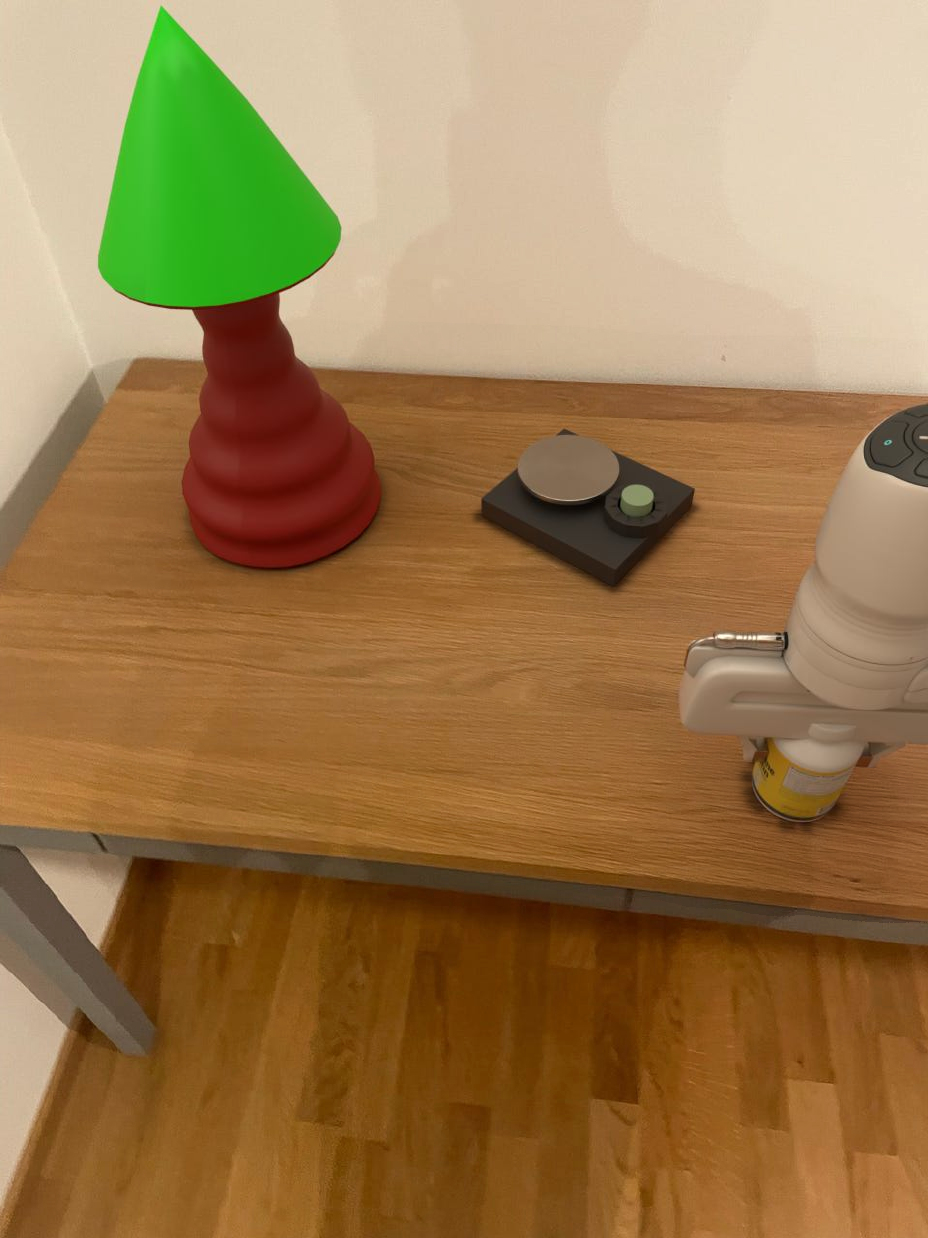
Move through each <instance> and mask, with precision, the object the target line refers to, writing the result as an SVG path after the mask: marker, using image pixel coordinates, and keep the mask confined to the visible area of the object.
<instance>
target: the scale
mask: <svg viewBox="0 0 928 1238" xmlns="http://www.w3.org/2000/svg"><path fill="white" fill-rule="evenodd" d="M558 435H577V436H581V435H580V434H577V433H576V432H573V431H571V430H569V429H567V428H562V430H560V431H559V432H558V433H557V434H556V435H555V436H558ZM610 450H611V451H612V452H613V453H614V455H615V456H616V458H617V460H618V463H619V477H618V480H617V483H616V484H615V486H614V487H613V489H612V490H611V491H610V492H609V493H607V494H606V495H605V496H603V497H601V498H599V499H597V500H595V501H592V502H589V503H584V504H578V505H561V504H554V503H550V502H547V501H544V500H541V499H539V498H537V497H535V496H534V495H532V494H531V493H529V492H528V491H527V490H526V489H525V488H524V487H523V485H522V484H521V482H520V480H519V477H518V467H516V469H514V470H513V471H512V472H511V473H510V474H508V475H507V476H506V477H505V478H504V479H503V480H501V481H500V482H499V483H497V485H495V486H494V487H492V489H490V490H489V491H488V492H487V493H486V494H485V495H483V496H482V497H481V498H480V502H481V517H483V518H485V519H487V520H489V521H490V522H492V523H494V524H496V525H497V526H500V527H501V528H503V529H505V530H507V531H508V532H510V533H512V534H514V535H516V536H518V537H520V538H522V539H524V540H525V541H527V542H529V543H531V544H533V545H535V546H537V547H538V548H541V549H543V550H544V551H546V552H548V553H550V554H551V555H553V556H555V557H557V558H559V559H560V560H563V561H564V562H566V563H568V564H570V565H572V566H573V567H576V568H577V569H580V570H581V571H583V572H585V573H587V574H589V575H590V576H591V577H595V579H598V580H600V581H602V582H603V583H605V584H607V585H609V586H611V587H615V586H617V584H619V582H620V581H621V580H622V579H623V578H624V577H625V576H626V575H627V574H628V573H629V572H630V571H631V570H632V568H634V567H635V565H636V564H638V562H639V561H641V559H642V558H643V557H645V555H646V554H647V553H648V552H649V551H650V550H651V549H652V548H653V547H654V546H655V545H656V544H657V543H658V542H659V541H660V540H661V539H662V538H663V536H665V535H666V534H667V532H669V530H671V529H672V527H673V526H674V525H675V524H676V523H677V522H678V521H679V520H680V519H681V518H683V516H684V515H685V514H686V513H687V512H688V511H689V510H690V509H691V508H692V506H693V501H694V498H695V497H694V496H695V493H696V492H695V491H696V488H694V487H693V486H690V485H688V484H686V483H684V482H682V481H679V480H677V479H676V478H673V477H671V476H668V475H666V474H665V473H662V472H660V471H657V470H655V469H653V468H651V467H649V466H646V465H645V464H643V463H641V462H638V461H636V460H634V459H632V458H629V457H627V456H626V455H623V454H621V453H618V452H616V451H614V450H612V449H610ZM630 485H643V486H646V487H648V488H649V489H650V490H651V491H652V492H653V495H654V498H653V505H652V510H651V512H650V513H649V514H648V515H646V516H644V517H631V516H628V515H626V514H625V513H624V512H623V511H622V510H621V507H620V504H621V495H622V491H623V490H624V489H625V488H626V487H628V486H630Z"/></svg>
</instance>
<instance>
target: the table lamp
mask: <svg viewBox="0 0 928 1238" xmlns="http://www.w3.org/2000/svg"><path fill="white" fill-rule="evenodd" d="M151 31H152V32H151V34H150V37H149V41H148V44H147V46H146V50H145V53H144V56H143V60H142V63H141V66H140V69H139V72H138V75H137V78H136V82H135V86H134V90H133V92H132V97H131V100H130V105H129V108H128V112H127V116H126V120H125V122H124V128H123V133H122V137H121V142H120V147H119V152H118V156H117V161H116V165H115V171H114V174H113V175H114V177H113V181H112V184H111V185H112V186H111V190H110V196H109V201H108V205H107V210H106V215H105V218H104V219H105V220H104V225H103V229H102V234H101V239H100V244H99V250H98V254H97V269H98V271H99V274H100V276H101V278H102V280H104V281H105V282H106V283H107V284H108V285H109V287H111V288H112V290H114V291H115V292H116V293H117V294H120V295H121V296H123V297H125V298H127V299H129V300H130V301H133V302H136V303H139V304H143V305H145V306H149V307H154V308H160V309H167V310H180V311H181V310H185V311H192V313H193V315H194V318H195V319H196V321H197V323H198V324H199V326H200V327H201V329H202V332H203V338H202V345H201V353H202V359H203V363H204V366H205V368H206V369H205V370H206V371H207V376H206V377H205V380H204V381H203V384H202V385H201V387H200V388H201V389H200V393H199V396H198V401H199V402H198V403H199V411H200V415H199V416H198V417H197V418H196V420H195V422H194V424H193V426H192V428H191V430H190V435H189V439H188V450H189V457H188V460H187V462H186V464H185V466H184V469H183V474H182V478H181V492H182V493H181V494H182V496H183V499H184V500H185V501H184V502H185V504H186V506H187V508H188V510H189V512H188V513H189V520H190V521H189V522H190V526H191V528H192V530H193V532H194V535H195V537H196V538H197V539H198V541H199V542H200V543H201V545H202V546H204V548H206V549H207V550H208V551H210V552H211V553H212V554H214V555H215V556H217V557H219V558H222V559H223V560H226V561H228V562H231V563H235V564H239V565H243V566H248V567H257V568H268V569H273V568H274V569H276V568H291V567H295V566H299V565H304V564H308V563H311V562H313V561H317V560H318V559H319V560H320V558H324V557H327V556H328V555H331V554H332V553H335V552H336V551H339V550H341V549H343V548H344V547H345V546H347V545H348V544H350V543H351V542H352V541H354V540H355V539H357V538H358V537H359V536H360V535H361V534H362V533H363V532H364V530H365V529H366V528H367V527H368V526H369V525H370V523H371V522H372V520H373V518H374V516H376V513H377V511H378V508H379V506H380V502H381V499H382V484H381V480H380V477H379V475H378V473H377V471H376V470H375V455H374V452H373V448H372V444H371V443H370V442H369V440H368V439H367V437H366V435H365V434H364V433H363V432H362V431H361V430H360V429H358V428H357V427H356V426H355V425H354V424H353V423H352V422H351V421H350V420H349V418H348V414H347V412H346V410H345V409H344V407H343V406H342V404H341V403H340V402H339V401H338V400H337V399H336V398H334V397H333V396H332V395H331V394H330V393H328V392H327V391H325V390H323V389H321V387H320V384H319V383H320V382H319V381H318V378H317V376H316V374H315V373H314V371H313V370H312V369H311V368H310V366H309V365H307V364H306V363H305V362H304V361H303V360H301V359H299V358H298V357H297V356H296V353H295V346H294V342H293V338H292V335H291V333H290V331H289V330H288V328H287V327H286V325H285V324H284V322H283V320H282V319H281V317H280V304H281V295H280V294H281V293H283V292H285V291H288V290H291V289H292V288H294V287H296V286H298V285H300V284H302V283H304V282H305V281H307V280H309V279H310V278H312V277H313V276H314V275H315V274H316V273H318V272H319V271H320V270H322V269H323V268H324V267H325V266H326V265H327V264H328V262H329V261H330V260H331V259H332V258H333V257H334V256H335V254H336V251H337V249H338V247H339V244H340V242H341V239H342V225H341V222H340V220H339V217H338V215H337V214H336V212H334V210H333V209H332V207H331V206H330V204H329V203H328V202H327V201H326V200H325V198H324V197H323V196H322V194H321V193H320V192H319V191H318V189H317V188H316V187H315V185H314V184H313V182H312V181H311V180H310V179H309V178H308V176H307V175H306V174H305V173H304V171H303V170H302V168H301V167H300V166H299V165H298V163H297V162H296V160H295V159H294V158H293V156H291V154H290V153H289V152H288V150H287V149H286V147H285V146H284V145H283V144H282V143H281V141H280V140H279V138H278V137H277V136H276V135H275V134H274V132H273V130H272V129H271V128H270V127H269V126H268V124H267V123H266V122H265V120H264V119H263V118H262V116H261V115H260V114H259V112H258V111H257V110H256V109H255V107H254V106H253V105H252V103H250V101H249V100H248V98H247V97H246V96H245V95H244V93H242V92H241V91H240V90H239V88H238V87H237V86H236V85H235V84H234V83H233V82H232V81H231V79H230V78H229V77H228V76H227V75H226V74H225V73H224V71H222V69H221V68H220V67H219V66H218V65H217V64H216V62H214V60H213V59H212V58H211V57H210V56H209V55H208V54H207V53H206V52H205V51H204V49H203V48H202V47H201V46H200V45H199V44H198V43H197V42H196V41H195V40H194V39H193V37H191V35H190V34H189V33H188V32H187V31H186V30H185V29H184V28H183V27H182V25H180V24H179V23H178V22H177V20H176V19H175V18H174V17H173V16H172V15H171V14H170V13H169V12H168V11H167V10H166V9H165V7H164V6H162V5H160V7H159V9H158V12H157V16H156V19H155V21H154V24H153V28H152V30H151Z"/></svg>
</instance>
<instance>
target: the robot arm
mask: <svg viewBox="0 0 928 1238" xmlns="http://www.w3.org/2000/svg"><path fill="white" fill-rule="evenodd" d="M838 478H839V479H838V480H837V482H836V485H835V486H834V489H833V491H832V494H831V496H830V499H829V501H828V504H827V505H826V508H825V511H824V513H823V516H822V518H821V521H820V524H819V526H818V529H817V532H816V536H815V541H814V548H813V549H814V562H813V563H812V564H811V565H810V566H809V567H808V568H807V570H806V571H805V573H804V574H803V576H802V578H801V580H800V583H799V585H798V588H797V590H796V594H795V597H794V601H793V603H792V606H791V609H790V611H789V615H788V618H787V619H786V623H785V626H784V628H783V629H784V630H783V632H780V631H779V632H778V631H751V632H750V631H749V632H737V631H735V630H727V629H725V630H716V631H714V632H713V633H712V635H708V636H704V637H701V638H698V639H694V640H692V641H690V642H689V644H688V645H687V649H686V650H685V655H684V661H683V667H684V672H683V674H682V677H681V679H680V682H679V686H678V710H679V711H678V712H679V719H680V722H681V725H682V726H683V727H684V729H686V730H687V731H688V732H690V733H691V734H695V735H712V736H714V735H715V736H737V740H738V741H739V743H740V744H741V750H742V758H743V761H744V762H745V763H746V762H748V763H755V762H765V761H766V758H765V757H767V755H768V753H769V749H768V745H767V743H766V740H767V737H775V738H795V739H810V738H812V737H811V736H809V735H808V734H809V733H808V731H809V728H810V726H811V724H812V723H817V724H840V725H857V728H856V730H855V733H854V735H853V736H852V737H850V738H848V739H846V740H844V741H858V742H865V745H864V749H863V752H862V754H861V756H860V758H859V760H858V762H857V763H856V765H855V767H854V768H867V769H875V768H876V766H877V764H878V763H879V761H880V759H881V758H884V757H886V756H889V755H891V754H893V753H895V752H896V751H899V750H901V749H903V748H905V747H906V746H907V745H921V746H923V745H924V746H925V745H926V746H928V402H926V403H921V404H915V405H913V406H909V407H907V408H904V409H901V410H898V411H897V412H895V413H893V414H891V415H890V416H888V417H886V418H885V419H883V420H882V421H880V422H879V423H878V424H877V425H875V427H874V428H872V430H870V431H869V432H868V433H867V434H866V435H865V437H863V439H862V440H861V441H860V443H859V444H858V445H857V446H856V448H855V450H854V451H853V453H852V454H851V456H850V457H849V459H848V461H847V462H846V465H845V466H844V468H843V470H842V472H841V474H840V476H839V477H838Z"/></svg>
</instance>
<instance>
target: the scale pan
mask: <svg viewBox="0 0 928 1238" xmlns="http://www.w3.org/2000/svg"><path fill="white" fill-rule="evenodd" d="M577 435H578V434H577ZM577 435H558V436H556V435H553V436H548V437H545V438H541V439H539V440H537V441H535V442H533V443H532V444H531V445H529V446H528V447H526V449H525V450H523V452H522V453H521V455H520V457H519V458H518V461H517V468H518V477H519V480H520V482H521V484H522V485H523V487H524V488H525V489H526V490H527V491H528V492H529V493H531V494H532V495H534V496H535V497H537V498H539V499H541V500H544V501H547V502H550V503H554V504H561V505H578V504H584V503H589V502H592V501H595V500H597V499H599V498H601V497H603V496H605V495H606V494H607V493H609V492H610V491H611V490H612V489H613V487H614V486H615V484H616V483H617V480H618V477H619V463H618V460H617V458H616V456H615V455H614V453H613V452H612V451H613V450H612V449H611V448H609V447H608V446H606V444H604V443H602V442H600V441H598V440H596V439H593V438H590V437H587V436H582V435H580V436H577ZM611 450H612V451H611Z"/></svg>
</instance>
